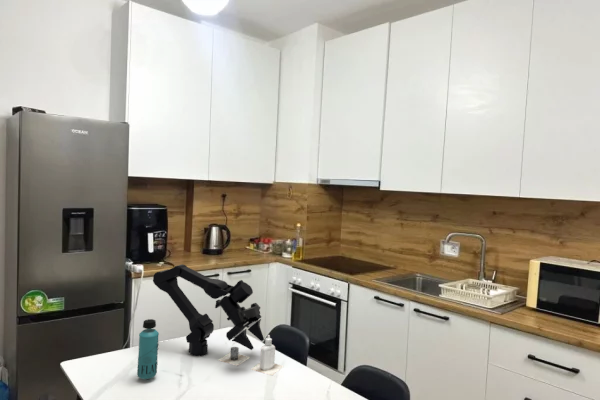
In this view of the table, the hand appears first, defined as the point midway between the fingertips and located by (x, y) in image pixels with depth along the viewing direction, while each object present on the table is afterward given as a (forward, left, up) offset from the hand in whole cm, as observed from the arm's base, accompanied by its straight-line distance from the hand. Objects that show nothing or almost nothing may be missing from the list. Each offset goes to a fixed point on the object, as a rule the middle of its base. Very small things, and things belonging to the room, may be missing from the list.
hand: (258, 344), depth 149 cm
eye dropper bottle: (+4, 0, -8) cm, 9 cm away
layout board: (-3, -1, -9) cm, 9 cm away
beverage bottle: (-27, -27, -9) cm, 39 cm away
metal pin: (-10, 0, -8) cm, 13 cm away
